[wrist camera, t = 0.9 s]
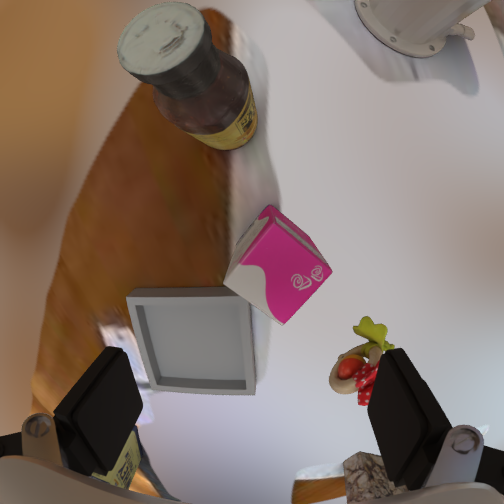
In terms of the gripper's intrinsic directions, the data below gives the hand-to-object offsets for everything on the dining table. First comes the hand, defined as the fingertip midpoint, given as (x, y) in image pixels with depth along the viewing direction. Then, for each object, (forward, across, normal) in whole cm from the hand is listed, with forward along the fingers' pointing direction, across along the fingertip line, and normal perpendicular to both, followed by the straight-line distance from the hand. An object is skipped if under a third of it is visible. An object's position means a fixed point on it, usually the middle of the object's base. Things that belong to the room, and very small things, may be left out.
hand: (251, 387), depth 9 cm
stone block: (+23, -20, +43) cm, 53 cm away
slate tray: (+22, +9, +12) cm, 27 cm away
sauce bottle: (+23, +3, -13) cm, 26 cm away
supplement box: (+23, -1, 0) cm, 23 cm away
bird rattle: (+23, -11, +14) cm, 29 cm away
